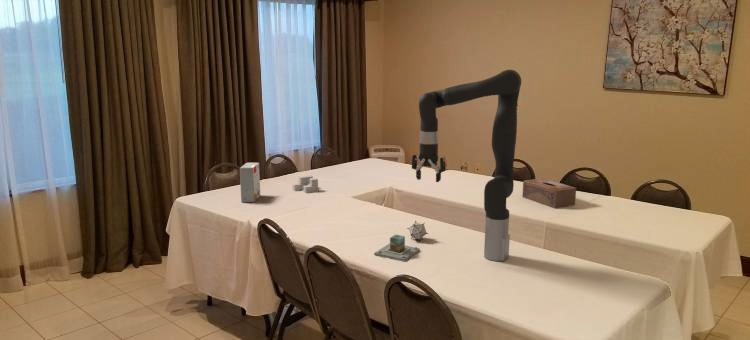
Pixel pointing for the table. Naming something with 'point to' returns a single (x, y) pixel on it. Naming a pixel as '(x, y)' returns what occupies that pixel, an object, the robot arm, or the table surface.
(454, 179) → the table surface
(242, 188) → the hard drive box
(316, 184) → the grey block assembly
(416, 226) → the grey faceted piece
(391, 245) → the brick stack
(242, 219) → the table surface
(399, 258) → the baseplate
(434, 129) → the robot arm
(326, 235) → the table surface
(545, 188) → the tissue box cover
